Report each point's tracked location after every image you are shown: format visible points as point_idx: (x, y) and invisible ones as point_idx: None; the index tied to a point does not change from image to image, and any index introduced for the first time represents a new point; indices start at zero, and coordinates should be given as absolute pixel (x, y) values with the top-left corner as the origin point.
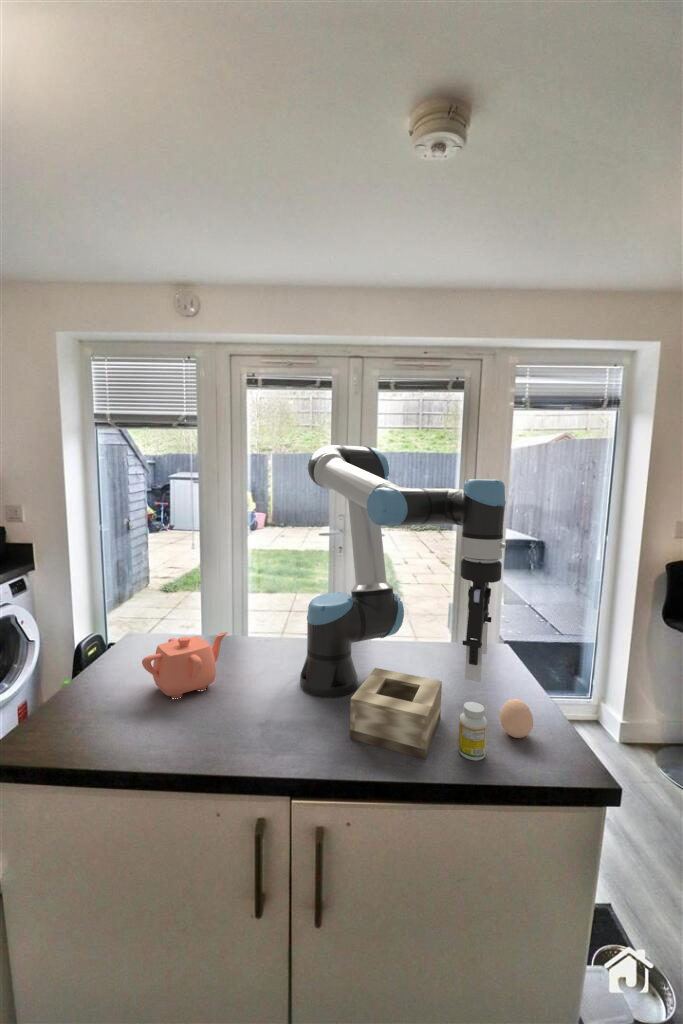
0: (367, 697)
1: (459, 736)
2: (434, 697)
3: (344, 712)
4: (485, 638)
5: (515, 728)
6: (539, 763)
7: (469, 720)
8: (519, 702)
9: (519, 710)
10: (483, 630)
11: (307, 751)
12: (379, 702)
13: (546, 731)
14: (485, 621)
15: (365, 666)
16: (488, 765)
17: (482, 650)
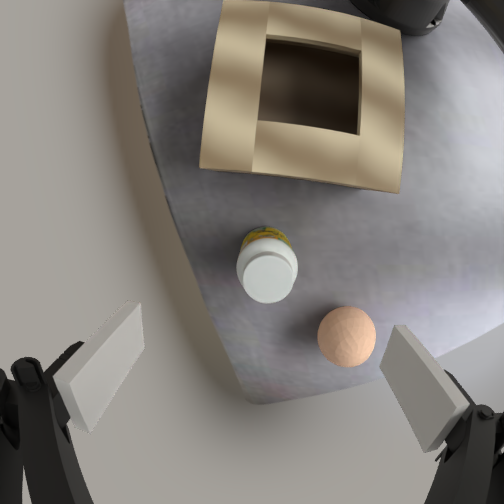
0: (240, 24)
1: (256, 233)
2: (303, 175)
3: None
4: (403, 402)
5: (318, 332)
6: (271, 346)
7: (245, 263)
8: (350, 359)
9: (333, 354)
10: (421, 418)
11: (181, 7)
12: (226, 50)
13: None
14: (448, 444)
15: (472, 57)
16: None
17: (388, 363)
